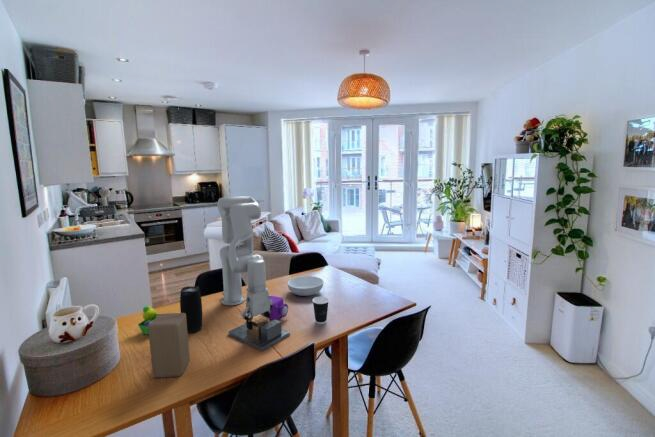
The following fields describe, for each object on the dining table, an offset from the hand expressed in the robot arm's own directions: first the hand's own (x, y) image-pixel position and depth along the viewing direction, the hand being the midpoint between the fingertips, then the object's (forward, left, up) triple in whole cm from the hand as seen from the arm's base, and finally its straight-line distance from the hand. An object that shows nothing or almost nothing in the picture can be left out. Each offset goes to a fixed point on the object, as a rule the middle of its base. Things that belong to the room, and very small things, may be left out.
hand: (258, 324), depth 145 cm
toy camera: (-7, +16, -5) cm, 18 cm away
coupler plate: (0, 0, -5) cm, 5 cm away
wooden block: (-6, -36, -5) cm, 37 cm away
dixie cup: (+14, +26, -5) cm, 30 cm away
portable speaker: (-28, -15, -5) cm, 32 cm away
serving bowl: (-16, +49, -5) cm, 52 cm away
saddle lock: (0, 0, -3) cm, 3 cm away
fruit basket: (-42, -26, -5) cm, 50 cm away
